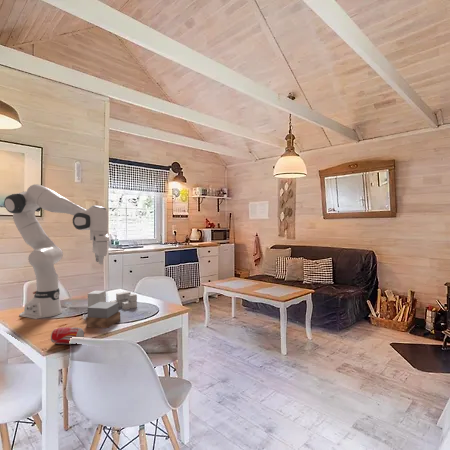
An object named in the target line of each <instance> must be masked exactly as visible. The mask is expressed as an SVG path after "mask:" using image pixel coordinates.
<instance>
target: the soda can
mask: <svg viewBox="0 0 450 450" xmlns="http://www.w3.org/2000/svg"><path fill="white" fill-rule="evenodd" d="M84 336H85V331H84V330H83V328H81V327H73V326H70V327H58V328H53V330H52V332H51V334H50V341H51V343H54V344H55V345H70V344H69V341H70V338H72V337H84ZM84 338H85V337H84Z"/></svg>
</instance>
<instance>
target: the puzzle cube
mask: <svg viewBox="0 0 450 450" xmlns="http://www.w3.org/2000/svg"><path fill="white" fill-rule="evenodd" d="M115 296H116V297H115V298H116V300H115V299H114V300H109V302H118V305H119V308H121V309H122V310H124V311H125V310H126V309H127V310H130V308H131V309H134V308H138V301H137V300H138V295H137V294H135V293H131V291H123V292H117V293H116V294H115Z"/></svg>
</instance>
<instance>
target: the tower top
mask: <svg viewBox="0 0 450 450" xmlns="http://www.w3.org/2000/svg"><path fill="white" fill-rule="evenodd" d="M119 308H120V307H119V305H118V302H110V301H106V302H98V303H96V304H94V305H92V306H90V307H88V306H87V317H91V318H109V317H111V316H112V315H114V314H116V313H117V312H120V311H119Z"/></svg>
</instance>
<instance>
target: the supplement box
mask: <svg viewBox="0 0 450 450" xmlns="http://www.w3.org/2000/svg"><path fill="white" fill-rule="evenodd" d="M106 292H107V291H106V290H93V291H91V292H88V293H87V308H88V307H90V306H92V305H94V304H96V303H98V302H107V294H106Z"/></svg>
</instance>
